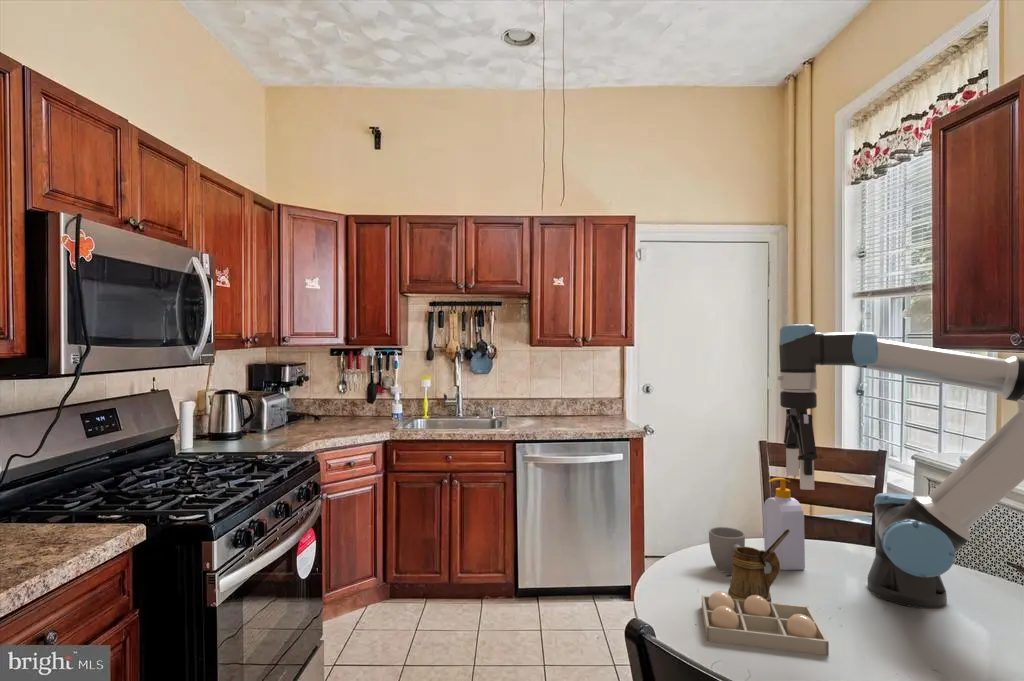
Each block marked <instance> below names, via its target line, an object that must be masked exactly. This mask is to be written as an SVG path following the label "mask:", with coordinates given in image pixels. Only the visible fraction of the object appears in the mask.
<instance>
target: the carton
mask: <svg viewBox="0 0 1024 681" xmlns="http://www.w3.org/2000/svg"><path fill="white" fill-rule="evenodd" d="M710 596H711V595H710ZM710 596H708V595H701V611H702V618H703V623H704V628H705V629H704V631H705V636H706V641H710V642H716V643H724V644H725V643H726V644H734V645H740V646H741V645H742V646H750V647H758V648H765V649H772V650H773V649H774V650H775V649H776V650H782V651H783V650H784V651H792V652H799V653H808V654H815V655H823V656H829V655H830V654H829V653H830V651H829V649H830V648H829V647H830V645H829V640H828V638H827V636H826V635H825V633H824V631H823V629H822V627H821V626H820V624H819V622H818V621H817V619H816V617H815V615H814V614H813V612H812V610H811V608H810V607H809V606H807V605H798V604H797V605H796V604H787V603H781V602H780V603H779V602H771V603H770V602H768V603H769V605H770V609H771V613H770V616H769V617H764V616H755V615H746V613H745V611H744V602H745V600H741V599H733V602H734V611H735V613H736V614H737V616H738V619H739V626H738V629H737V630H736V629H727V628H719V627H714V626H713V624H712V620H711V616H712V612H713V611H711V610H710V608H709V604H708V602H709V597H710ZM794 614H803V615H806V616H807V617H809V618H810V619H811V620H812V621H813V622H814V624H815V626H816V630H817V634H816V637H815V639H813V638H805V637H796V636H790V635H789V633H788V631H787V621H788V619H789V618H790V617H791V616H792V615H794Z"/></svg>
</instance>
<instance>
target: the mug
mask: <svg viewBox="0 0 1024 681" xmlns="http://www.w3.org/2000/svg"><path fill="white" fill-rule="evenodd" d="M708 541H709V542H708V543H709V549H710V553H711V556H712V561H713V562H714V564H715V568H716V570H717V571H720V572H722V573H727V574H732V567H733V562H732V556H733V554H734V549H735V548H736V547H746V536H745V533H744V531H742V530H740V529H737V528H733V527H728V526H727V527H726V526H717V527H712V528H710V529H709V530H708Z"/></svg>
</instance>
